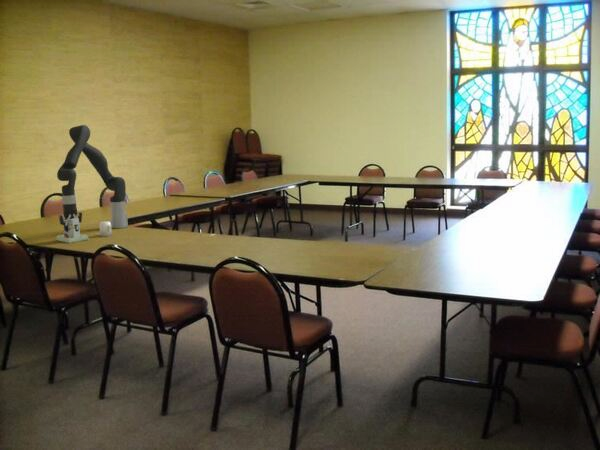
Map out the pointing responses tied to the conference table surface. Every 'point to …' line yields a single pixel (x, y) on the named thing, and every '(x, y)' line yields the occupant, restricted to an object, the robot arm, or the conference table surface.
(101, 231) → the mug
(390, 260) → the conference table surface
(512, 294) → the conference table surface
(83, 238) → the tray
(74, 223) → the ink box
